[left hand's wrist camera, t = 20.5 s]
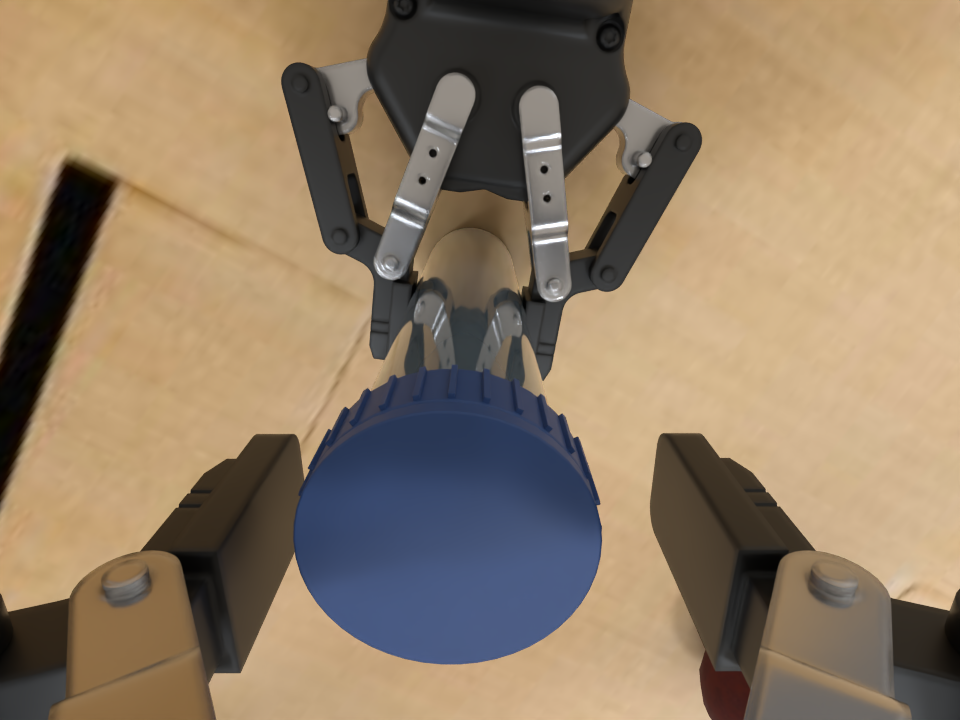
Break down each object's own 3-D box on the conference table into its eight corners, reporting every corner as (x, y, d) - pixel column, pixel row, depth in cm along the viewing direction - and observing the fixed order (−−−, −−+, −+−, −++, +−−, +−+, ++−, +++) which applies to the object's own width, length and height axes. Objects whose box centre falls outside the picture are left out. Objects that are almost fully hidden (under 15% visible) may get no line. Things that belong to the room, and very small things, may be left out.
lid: (621, 391, 10) (648, 439, 8) (552, 612, 12) (563, 687, 10) (331, 337, 10) (302, 377, 8) (305, 573, 11) (275, 645, 10)
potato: (817, 594, 35) (896, 702, 28) (789, 689, 37) (855, 808, 31) (694, 592, 35) (744, 699, 28) (675, 687, 37) (716, 805, 31)
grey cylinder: (424, 308, 29) (326, 608, 10) (429, 223, 27) (326, 399, 9) (508, 315, 29) (555, 625, 11) (518, 231, 27) (591, 422, 9)
